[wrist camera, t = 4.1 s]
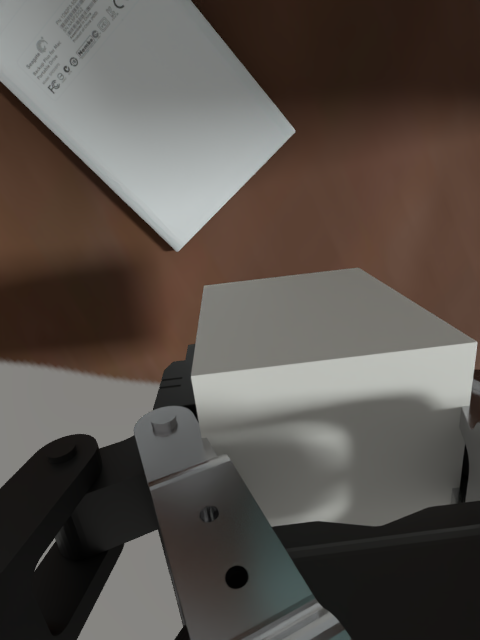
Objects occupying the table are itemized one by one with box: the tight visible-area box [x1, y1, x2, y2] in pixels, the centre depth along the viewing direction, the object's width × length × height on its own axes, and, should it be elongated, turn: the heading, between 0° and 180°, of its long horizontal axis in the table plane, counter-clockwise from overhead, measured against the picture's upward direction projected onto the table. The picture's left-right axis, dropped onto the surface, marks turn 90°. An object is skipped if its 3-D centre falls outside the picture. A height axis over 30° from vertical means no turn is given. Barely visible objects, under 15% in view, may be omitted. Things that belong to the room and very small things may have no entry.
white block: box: [191, 268, 477, 527], centre depth 10 cm, size 5×5×6 cm
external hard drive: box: [0, 0, 295, 252], centre depth 17 cm, size 2×8×12 cm
